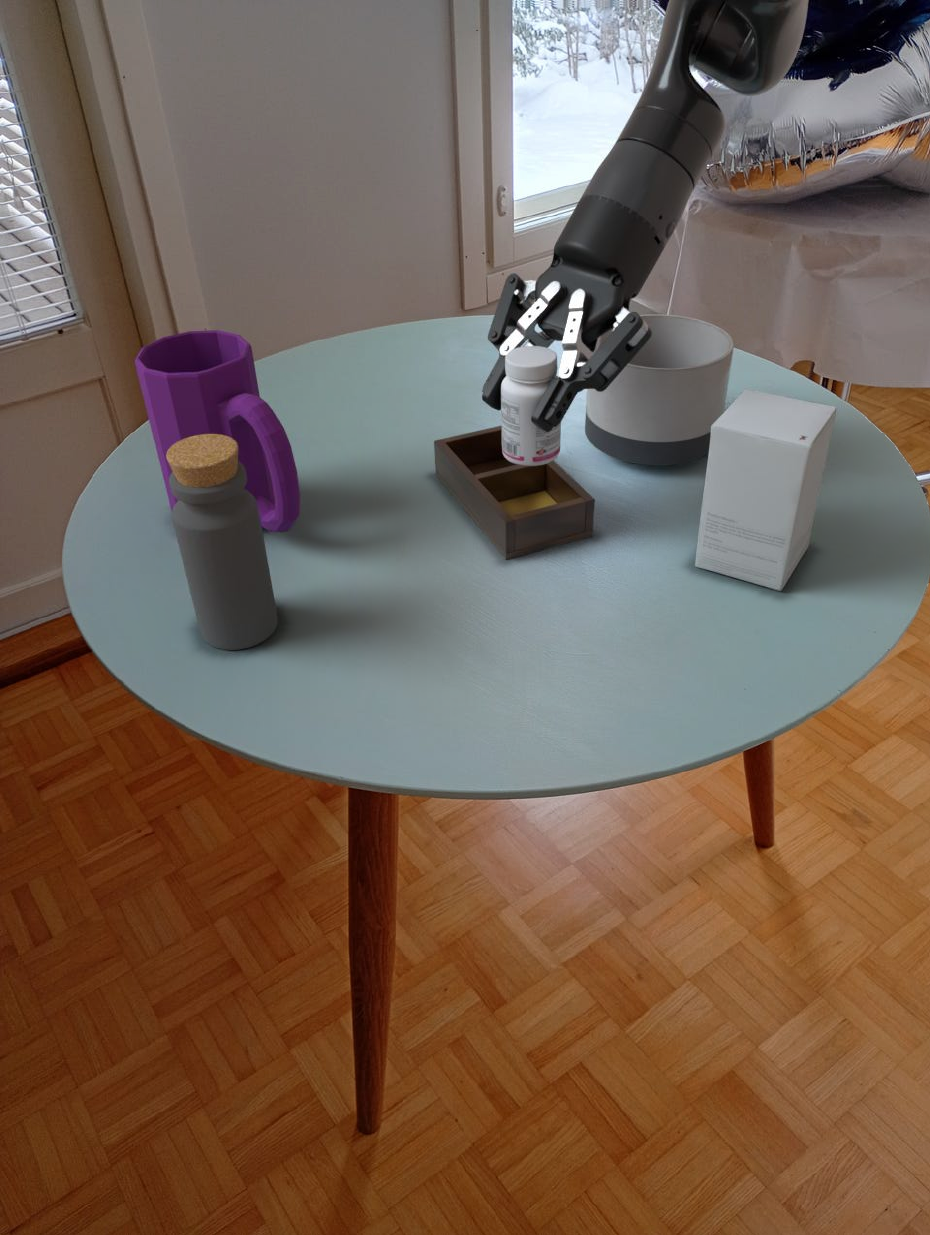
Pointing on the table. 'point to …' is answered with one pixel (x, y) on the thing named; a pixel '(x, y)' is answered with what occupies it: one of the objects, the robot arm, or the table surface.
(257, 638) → the bottle
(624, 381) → the planter
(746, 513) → the white packaging box
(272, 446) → the mug
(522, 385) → the pill bottle
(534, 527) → the divided wooden box
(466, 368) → the table surface
